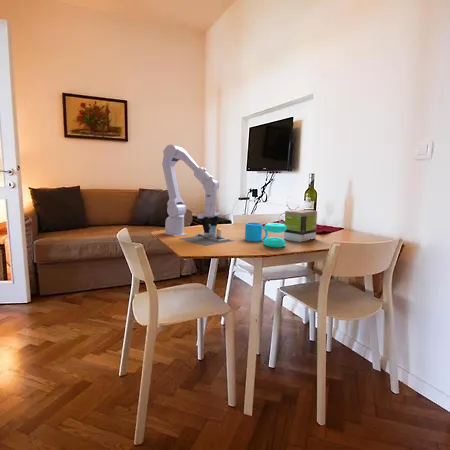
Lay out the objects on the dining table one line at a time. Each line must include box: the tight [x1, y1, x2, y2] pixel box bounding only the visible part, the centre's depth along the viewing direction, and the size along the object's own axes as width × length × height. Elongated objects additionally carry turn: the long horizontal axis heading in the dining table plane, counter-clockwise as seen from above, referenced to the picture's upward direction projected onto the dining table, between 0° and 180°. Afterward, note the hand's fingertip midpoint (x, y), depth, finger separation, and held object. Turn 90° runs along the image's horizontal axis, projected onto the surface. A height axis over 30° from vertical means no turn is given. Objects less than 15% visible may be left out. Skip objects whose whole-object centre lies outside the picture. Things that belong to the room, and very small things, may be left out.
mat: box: [178, 235, 235, 247], centre depth 161 cm, size 19×19×1 cm
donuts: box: [263, 222, 287, 248], centre depth 155 cm, size 10×10×10 cm
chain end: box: [195, 224, 230, 242], centre depth 165 cm, size 18×7×6 cm, turn 46°
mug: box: [244, 222, 269, 242], centre depth 165 cm, size 12×8×8 cm
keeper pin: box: [216, 228, 222, 240], centre depth 161 cm, size 2×2×5 cm
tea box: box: [283, 208, 318, 243], centre depth 174 cm, size 15×10×15 cm, turn 134°
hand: (209, 232), depth 166 cm, fingers closed on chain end, 4 cm apart
